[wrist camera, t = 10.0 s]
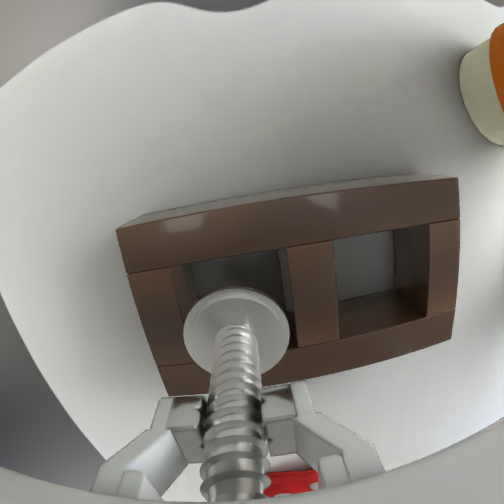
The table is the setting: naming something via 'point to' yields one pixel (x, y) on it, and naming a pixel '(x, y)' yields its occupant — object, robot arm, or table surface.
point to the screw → (235, 386)
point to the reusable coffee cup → (485, 86)
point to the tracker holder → (291, 483)
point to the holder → (305, 271)
